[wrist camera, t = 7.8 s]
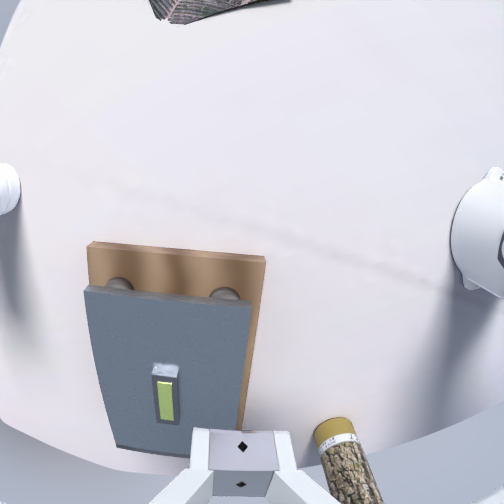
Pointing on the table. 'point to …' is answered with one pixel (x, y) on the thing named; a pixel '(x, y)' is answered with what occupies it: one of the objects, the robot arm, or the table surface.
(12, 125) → the table surface
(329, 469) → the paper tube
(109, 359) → the plate
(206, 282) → the leveling base
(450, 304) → the table surface
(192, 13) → the terrain model
